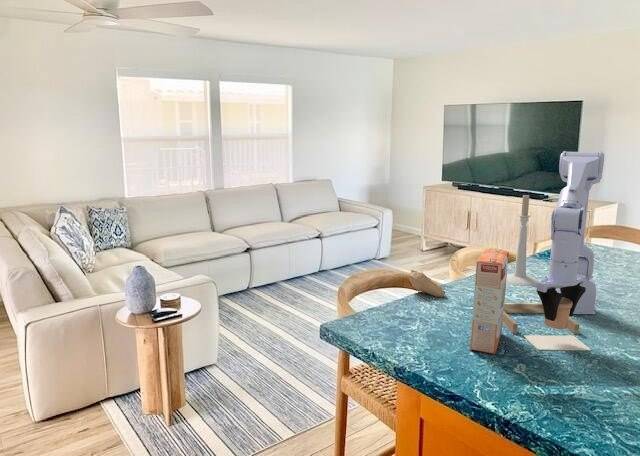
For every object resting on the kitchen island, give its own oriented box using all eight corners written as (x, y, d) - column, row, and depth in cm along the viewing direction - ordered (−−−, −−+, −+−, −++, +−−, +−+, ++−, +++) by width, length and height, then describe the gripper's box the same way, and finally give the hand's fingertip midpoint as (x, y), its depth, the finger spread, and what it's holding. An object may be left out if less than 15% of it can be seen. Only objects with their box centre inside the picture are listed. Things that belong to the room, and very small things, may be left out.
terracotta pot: (555, 318, 116) (558, 294, 115) (574, 327, 111) (578, 302, 110) (537, 321, 114) (540, 296, 113) (555, 331, 109) (559, 305, 108)
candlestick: (527, 291, 153) (535, 196, 147) (491, 282, 162) (497, 193, 157) (547, 284, 161) (555, 194, 155) (511, 275, 170) (518, 191, 165)
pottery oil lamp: (437, 301, 142) (438, 278, 141) (401, 293, 150) (402, 271, 148) (450, 294, 149) (451, 272, 147) (415, 287, 156) (416, 266, 155)
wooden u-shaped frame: (548, 311, 134) (549, 303, 134) (578, 334, 118) (579, 324, 118) (490, 311, 134) (491, 302, 134) (512, 333, 118) (513, 324, 118)
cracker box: (497, 355, 106) (504, 263, 102) (468, 350, 109) (474, 260, 105) (503, 333, 118) (509, 250, 115) (478, 329, 121) (483, 248, 117)
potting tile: (573, 336, 117) (573, 335, 117) (591, 350, 109) (591, 349, 109) (523, 336, 117) (523, 335, 117) (537, 350, 109) (538, 349, 109)
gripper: (568, 253, 116) (563, 307, 119) (527, 259, 110) (522, 316, 112) (596, 259, 110) (590, 316, 112) (554, 266, 103) (549, 327, 106)
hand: (558, 317), depth 112 cm, fingers closed on terracotta pot, 5 cm apart
